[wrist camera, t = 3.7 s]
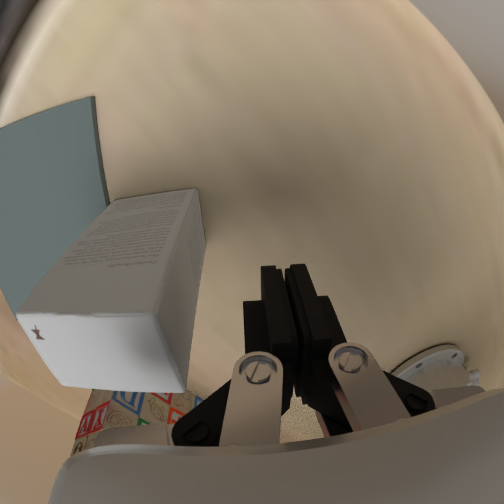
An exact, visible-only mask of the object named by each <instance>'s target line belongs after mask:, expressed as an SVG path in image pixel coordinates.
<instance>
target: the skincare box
mask: <svg viewBox="0 0 504 504" xmlns="http://www.w3.org/2000/svg"><path fill="white" fill-rule="evenodd" d="M205 248H206V240H205V235H204V229H203V222H202V215H201V208H200V201H199V194H198V190H197V189H196V188H193V189H186V190H178V191H171V192H164V193H156V194H150V195H144V196H137V197H132V198H125V199H120V200H114V201H113V202H112V203H111V204H110V205H109V206H108V207H107V208H106V209H105V210H104V211H103V212H102V213H101V214H100V215H99V216H98V217H97V218H96V219H95V220H94V221H93V222H92V223H91V224H90V225H89V226H88V227H87V228H86V229H85V230H84V231H83V232H82V234H81V235H80V236H79V237H78V238H77V239H76V240H75V241H74V242H73V243H72V244H71V245H70V247H69V248H68V249H67V250H66V251H65V252H64V253H63V254H62V256H61V257H60V258H59V259H58V260H57V261H56V263H55V264H54V265H53V266H52V267H51V268H50V270H49V271H48V272H47V273H46V274H45V276H44V277H43V278H42V279H41V280H40V282H39V283H38V284H37V285H36V287H35V288H34V289H33V290H32V292H31V293H30V294H29V296H28V297H27V298H26V300H25V301H24V302H23V304H22V305H21V307H20V308H19V309H18V311H17V312H16V317H17V319H18V321H19V323H20V324H21V326H22V328H23V330H24V331H25V333H26V334H27V336H28V338H29V339H30V341H31V342H32V344H33V346H34V347H35V349H36V350H37V352H38V353H39V355H40V356H41V358H42V359H43V361H44V362H45V364H46V365H47V367H48V368H49V369H50V371H51V372H52V373H53V375H54V376H55V377H56V378H57V380H58V381H59V382H60V383H61V384H62V385H63V386H69V387H79V388H91V389H102V390H113V391H127V392H156V393H184V392H185V391H186V386H187V377H188V368H189V360H190V351H191V343H192V336H193V328H194V320H195V313H196V305H197V299H198V292H199V286H200V279H201V272H202V266H203V260H204V254H205Z"/></svg>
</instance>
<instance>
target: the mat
mask: <svg viewBox="0 0 504 504" xmlns="http://www.w3.org/2000/svg"><path fill="white" fill-rule="evenodd" d="M109 205H110V203H109V198H108V193H107V188H106V182H105V177H104V171H103V164H102V158H101V151H100V144H99V136H98V127H97V118H96V107H95V97H88V98H84V99H81V100H77V101H74V102H71V103H67V104H64V105H61V106H58V107H55V108H52V109H49V110H46V111H43V112H40V113H38V114H35V115H32V116H30V117H27V118H25V119H22V120H20V121H17V122H15V123H12V124H10V125H8V126H5V127H3V128H1V129H0V288H1V290H2V292H3V294H4V297H5V299H6V301H7V303H8V305H9V307H10V309H11V311H12V313H13V315H14V317H15V318H16V320H18V319H17V317H16V312H17V311H18V309H19V308H20V307H21V305H22V304H23V302H24V301H25V300H26V298H27V297H28V296H29V294H30V293H31V292H32V290H33V289H34V288H35V287H36V285H37V284H38V283H39V282H40V280H41V279H42V278H43V277H44V276H45V274H46V273H47V272H48V271H49V270H50V268H51V267H52V266H53V265H54V264H55V263H56V261H57V260H58V259H59V258H60V257H61V256H62V254H63V253H64V252H65V251H66V250H67V249H68V248H69V247H70V245H71V244H72V243H73V242H74V241H75V240H76V239H77V238H78V237H79V236H80V235H81V234H82V232H83V231H84V230H85V229H86V228H87V227H88V226H89V225H90V224H91V223H92V222H93V221H94V220H95V219H96V218H97V217H98V216H99V215H100V214H101V213H102V212H103V211H104V210H105V209H106V208H107V207H108V206H109Z"/></svg>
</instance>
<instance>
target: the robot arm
mask: <svg viewBox="0 0 504 504" xmlns="http://www.w3.org/2000/svg"><path fill="white" fill-rule="evenodd" d="M243 313H244V335H245V355H243V356H242V357H240V358H239V359H238V360H237V361H236V363H235V365H234V368H233V374H232V379H230V380H229V381H228V382H227V383H225V384H224V385H223V386H222V387H220V388H219V389H218V390H217V391H215V392H214V393H213V394H212V395H210V396H209V397H208V398H206V399H205V400H204V401H203V402H201V403H200V404H199V405H197V406H196V407H195V408H193V409H192V410H191V411H189V412H188V413H187V414H185V415H184V416H183V417H181V418H180V419H179V420H178V421H177V422H176V423H173V424H165V422H161V423H154V424H146V425H137V426H127V427H115V428H108V429H104V430H103V431H101V432H100V433H99V434H98V435H97V436H96V438H95V441H94V448H91V449H87V450H84V451H81V452H78V453H76V454H74V455H72V456H71V457H69V458H68V459H67V460H66V461H65V462H64V464H63V465H62V467H61V469H60V470H59V473H58V475H57V477H56V479H55V483H54V485H53V489H52V492H51V495H50V499H49V503H48V504H504V388H499V389H493V390H489V391H485V390H484V389H483V388H481V387H479V380H478V378H479V377H480V370H479V369H475V370H472V371H470V372H468V373H467V372H466V371H465V369H464V367H463V363H464V355H463V353H462V352H461V350H460V349H459V347H457V346H455V345H441V346H437V347H434V348H431V349H428V350H426V351H424V352H422V353H420V354H418V355H416V356H414V357H413V358H411V359H410V360H408V361H407V362H405V363H404V364H402V365H401V366H400V367H398V368H397V369H396V370H395V371H394V372H392V373H391V374H389V373H387V372H385V371H383V370H382V369H381V368H380V366H379V364H378V363H377V361H376V360H375V358H374V357H373V355H372V354H371V352H370V351H369V350H368V349H367V348H365V347H364V346H362V345H359V344H357V343H349V342H348V343H347V341H346V338H345V336H344V333H343V331H342V328H341V326H340V323H339V321H338V318H337V316H336V313H335V311H334V308H333V306H332V304H331V301H330V299H329V297H328V296H327V295H326V296H317V294H316V291H315V288H314V286H313V283H312V280H311V278H310V275H309V272H308V270H307V267H306V265H305V264H291V265H290V268H287V269H285V281H284V278H283V274H282V270H281V269H276V266H275V265H274V266H261V300H258V301H243ZM293 387H294V388H295V394H296V397H301V398H302V403H303V404H308V406H309V407H311V408H313V409H314V410H316V417H317V419H318V422H319V424H320V426H321V429H322V431H323V434H324V436H325V438H319V439H312V440H305V441H297V442H288V443H279V442H280V425H281V416H282V415H283V414H284V413H285V412H286V411H287V410H288V409H289V408H290V401H291V398H292V395H293Z"/></svg>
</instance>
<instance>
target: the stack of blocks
mask: <svg viewBox="0 0 504 504" xmlns="http://www.w3.org/2000/svg"><path fill="white" fill-rule="evenodd" d="M203 401H204V400H202V399H200V398H199V397H197V396H195V395H193V394H192V393H190V392H188V391H187V390H186V391H185V392H184V393H156V392H127V391H113V390H102V389H92V393H91V395H90V398H89V400H88V403H87V406H86V408H85V411H84V415H83V416H82V419H81V422H80V425H79V428H78V432H77V434H76V437H75V443H74V446H73V449H72V452H71V455H70V457H71V456H72V455H74V454H76V453H78V452H81V451H84V450H87V449H91V448H94V441H95V438H96V436H97V435H98V434H99V433H100V432H101V431H103V430H104V429H108V428H115V427H127V426H137V425H146V424H154V423H161V422H165V424H173V423H176V422H177V421H178V420H179V419H180V418H181V417H183V416H184V415H185V414H187V413H188V412H189V411H191V410H192V409H193V408H195V407H196V406H197V405H199V404H200V403H201V402H203Z"/></svg>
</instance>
